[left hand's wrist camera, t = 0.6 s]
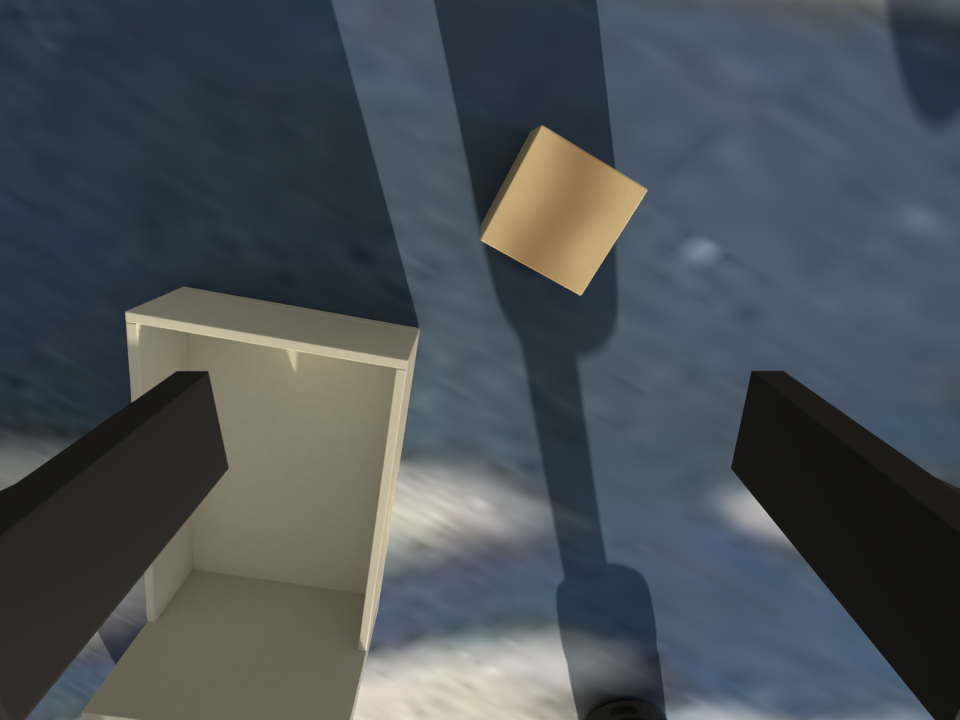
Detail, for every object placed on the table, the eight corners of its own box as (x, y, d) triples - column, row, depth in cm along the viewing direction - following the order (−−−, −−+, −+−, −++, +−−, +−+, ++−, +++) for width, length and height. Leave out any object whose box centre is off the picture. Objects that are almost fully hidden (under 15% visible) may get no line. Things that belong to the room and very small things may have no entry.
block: (617, 184, 30) (648, 189, 25) (563, 272, 32) (581, 296, 27) (530, 131, 29) (541, 124, 24) (480, 225, 31) (479, 240, 26)
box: (183, 286, 33) (28, 352, 21) (419, 327, 34) (389, 412, 22) (191, 584, 42) (85, 740, 30) (377, 610, 43) (340, 771, 31)
